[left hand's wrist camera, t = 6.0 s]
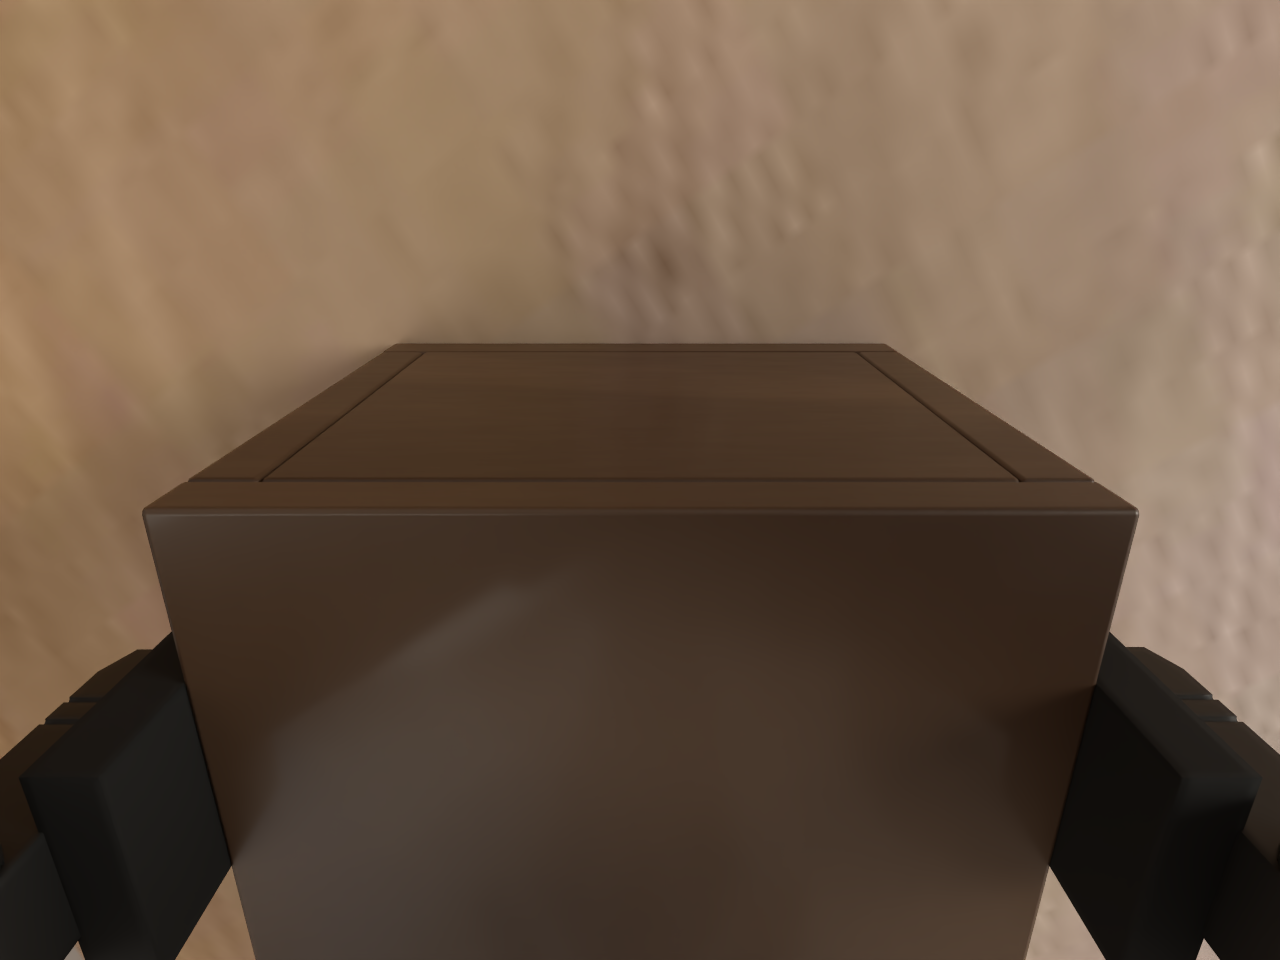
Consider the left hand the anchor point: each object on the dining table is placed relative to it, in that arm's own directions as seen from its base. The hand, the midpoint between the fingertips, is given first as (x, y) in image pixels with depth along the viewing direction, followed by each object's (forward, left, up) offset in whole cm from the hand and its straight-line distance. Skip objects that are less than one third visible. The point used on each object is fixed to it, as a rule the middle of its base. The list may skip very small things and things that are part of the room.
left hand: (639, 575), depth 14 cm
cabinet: (+5, 0, -4) cm, 6 cm away
